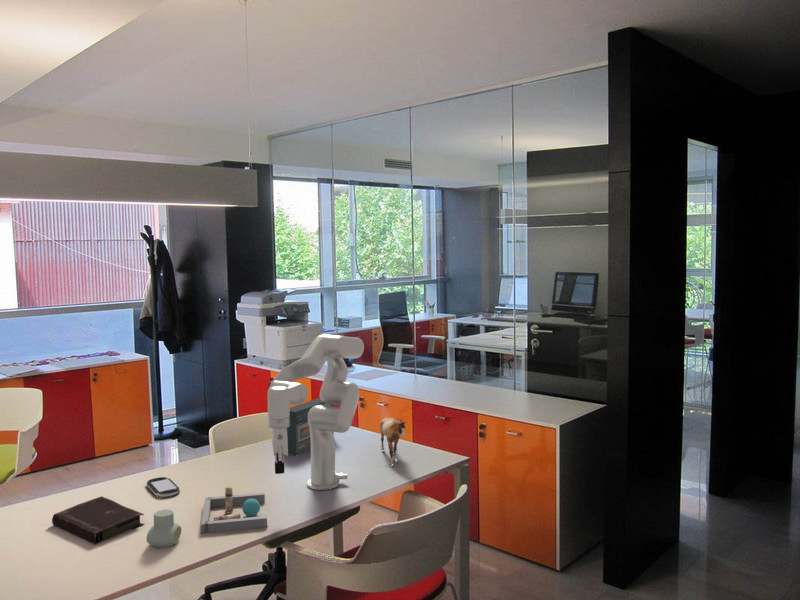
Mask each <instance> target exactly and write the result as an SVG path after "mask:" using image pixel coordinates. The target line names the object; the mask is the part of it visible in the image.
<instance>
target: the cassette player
mask: <svg viewBox="0 0 800 600" xmlns="http://www.w3.org/2000/svg"><path fill="white" fill-rule="evenodd" d="M316 405H326V406H333V407H334V404H328V403H325V402H323V401H321V399H320V397H318V398H315V399H312V400H308V401H304V402H302V403H300V404H296V405H293V406H291V407H290V426H289V427H287V434H288V455H290V456H296V455H297V456H299V455H301V454H303V453H305V452H308V451H311V437H310V429H309V424H308V412H309V410H310V409H311V408H312V407H314V406H316ZM332 433H333V435H334V433H335V432H332ZM334 436H335V435H334Z"/></svg>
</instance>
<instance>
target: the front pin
mask: <svg viewBox="0 0 800 600" xmlns="http://www.w3.org/2000/svg"><path fill="white" fill-rule="evenodd" d="M238 518H242V517H241V513H233V514H227V515H219V516H215V517H213V521H217V520H228V519H238Z"/></svg>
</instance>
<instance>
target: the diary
mask: <svg viewBox="0 0 800 600" xmlns="http://www.w3.org/2000/svg"><path fill="white" fill-rule="evenodd" d="M141 516H145V513H142V512H139V511H137V510H135V509H132V508H129V507H127V506H124V505H122V504H120V503H118V502H117V501H114V500H112V499H111V498H110V499H109V498H107V497H104V496H98V497H96V498H92V499H90V500H87V501H84V502H80V503H79V504H75V505H73V506H71V507H69V508H65V509H64V510H62V511H59V512H55V513H54V514H53V515H52V519H51V524H52V525H53V526H54V527H56V528H59V529H61V530H63V531H66V532H68V533H69V534H71V535H73V536H75V537H77V538H79V539H81V540H82V539H83V540H84V541H86V542H89V543H90V544H93V545H94V546H96V545H97V544H98V543H97V542H99V543H101V540H102V541H106V540H108V539H110V538H114V537H115V536H117V535H120V534H123V533H125V532H127V531H130V530H132V531H133V530H136V529H138V528H141V527H143V526H144V525H145V523H141Z"/></svg>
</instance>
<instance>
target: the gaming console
mask: <svg viewBox="0 0 800 600" xmlns="http://www.w3.org/2000/svg"><path fill="white" fill-rule="evenodd" d="M146 487H147V488H148V489H149V490H150V491H151V492H152V494H153V495H154V496H155V497H157V496H158V497H157V498H159V497H160V499H164V497H167V498H171V497H170V496H172V497H174V495H175V496H178V495H179V494H180V492H181V491H180V487H179V486H178V485H177V484H176V483H175V482H174V481H173V480H172V479H171V478H168V477H165V476H161V477H155V478H151V479H148V480H147V481H146Z"/></svg>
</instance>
